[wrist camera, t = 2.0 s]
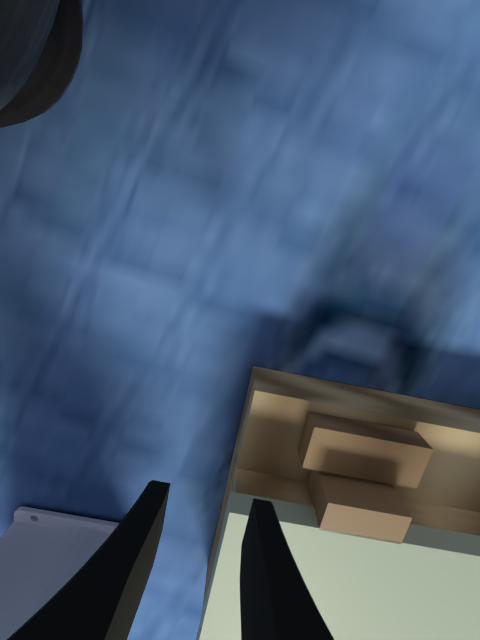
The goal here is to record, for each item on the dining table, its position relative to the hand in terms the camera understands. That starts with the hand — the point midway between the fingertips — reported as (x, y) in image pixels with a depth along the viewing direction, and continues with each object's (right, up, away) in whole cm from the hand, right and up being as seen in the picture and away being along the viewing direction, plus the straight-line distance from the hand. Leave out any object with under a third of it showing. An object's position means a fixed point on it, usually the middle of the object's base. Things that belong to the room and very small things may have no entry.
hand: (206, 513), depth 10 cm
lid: (+8, -9, +8) cm, 14 cm away
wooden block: (+7, 0, +6) cm, 10 cm away
